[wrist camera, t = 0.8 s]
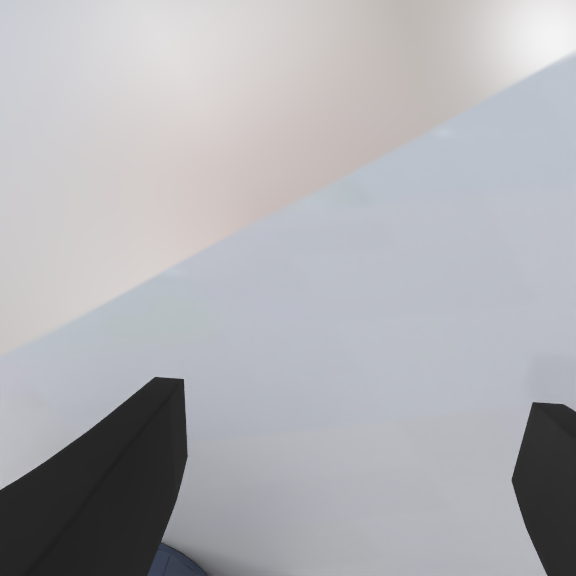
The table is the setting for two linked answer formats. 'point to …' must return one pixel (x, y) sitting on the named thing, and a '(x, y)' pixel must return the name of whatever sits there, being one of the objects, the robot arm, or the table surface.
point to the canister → (173, 564)
